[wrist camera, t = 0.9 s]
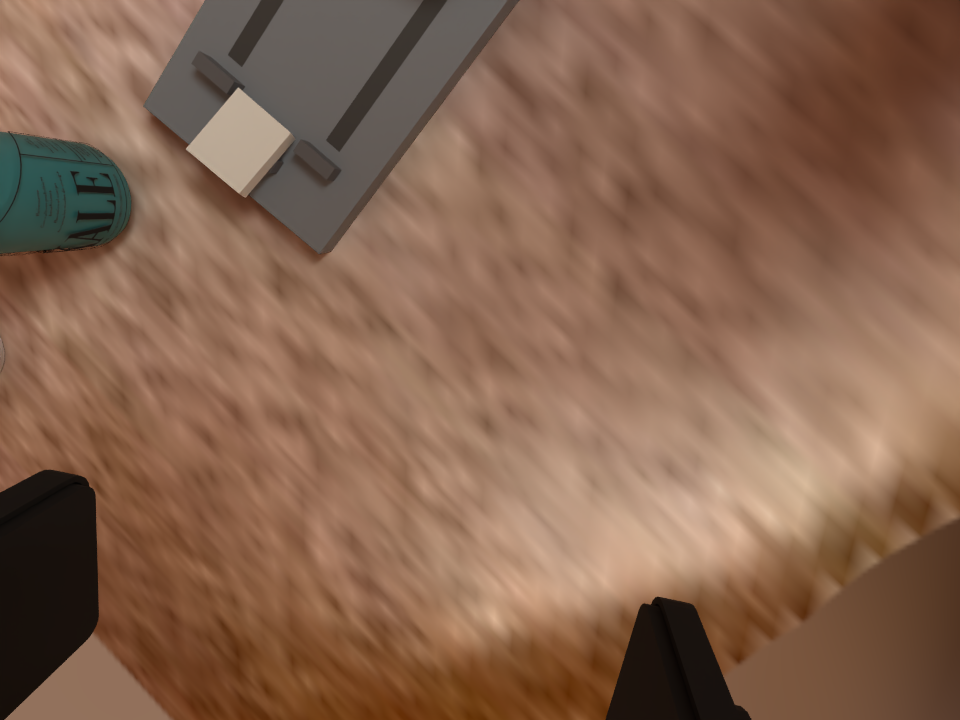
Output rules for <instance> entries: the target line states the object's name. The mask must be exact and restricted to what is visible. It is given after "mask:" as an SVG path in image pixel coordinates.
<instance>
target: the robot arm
mask: <svg viewBox="0 0 960 720" xmlns="http://www.w3.org/2000/svg"><path fill="white" fill-rule="evenodd" d="M98 617H99V605H98V569H97V533H96V498H95V492H94V490H93V489H92V488H90V487H89V483H88V481H87V480H86V478H84V477H82V476H79V475H74V474H69V473H65V472H60V471H55V470H44V471H41V472H38V473H37V474H35V475H33V476H31V477H29V478H27V479H25V480H23V481H21V482H20V483H18V484H16V485H14V486H12V487H10V488H8V489H6V490H5V491H3V492H1V493H0V720H4V719H6V718H7V717H8V716H9V715H10V714H11V713H12V712H13V711H14V710H15V709H16V708H17V707H18V706H19V705H20V704H21V703H22V702H23V701H24V700H25V699H26V698H27V697H28V696H29V695H30V694H31V693H32V692H33V691H35V690H36V689H37V688H38V687H39V686H40V685H41V684H42V683H43V682H44V681H45V680H46V679H47V678H48V677H49V676H50V675H51V674H52V673H53V672H54V671H55V670H56V669H57V668H58V667H59V666H61V665H62V664H63V663H64V662H65V661H66V660H67V659H68V658H69V657H70V656H71V655H72V654H73V653H74V652H75V651H76V650H77V649H78V648H79V647H80V646H81V645H82V644H83V643H84V642H85V641H86V640H87V639H88V638H89V637H90V636H91V634H92V633H93V631H94V629H95V627H96V625H97V622H98ZM606 720H751V718H750V716H749V714H748V712H747V711H745V710H744V709H743V708H742V707H741V706H737V705H735V704H734V702H733V699H732V697H731V695H730V692H729V690H728V687H727V685H726V682H725V680H724V677H723V675H722V672H721V670H720V667H719V665H718V662H717V660H716V657H715V655H714V653H713V650H712V648H711V645H710V643H709V640H708V638H707V635H706V633H705V630H704V628H703V625H702V623H701V620H700V618H699V615H698V613H697V611H696V609H695V607H694V605H692V604H690V603H685V602H681V601H676V600H671V599H666V598H662V597H655V599H654V600H653V601H652V604H651V605H649V604H642V605H641V607H640V609H639V612H638V615H637V618H636V622H635V625H634V628H633V631H632V635H631V638H630V641H629V644H628V648H627V651H626V654H625V658H624V661H623V664H622V667H621V671H620V674H619V677H618V681H617V684H616V687H615V690H614V694H613V697H612V700H611V703H610V707H609V710H608V713H607V717H606Z"/></svg>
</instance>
